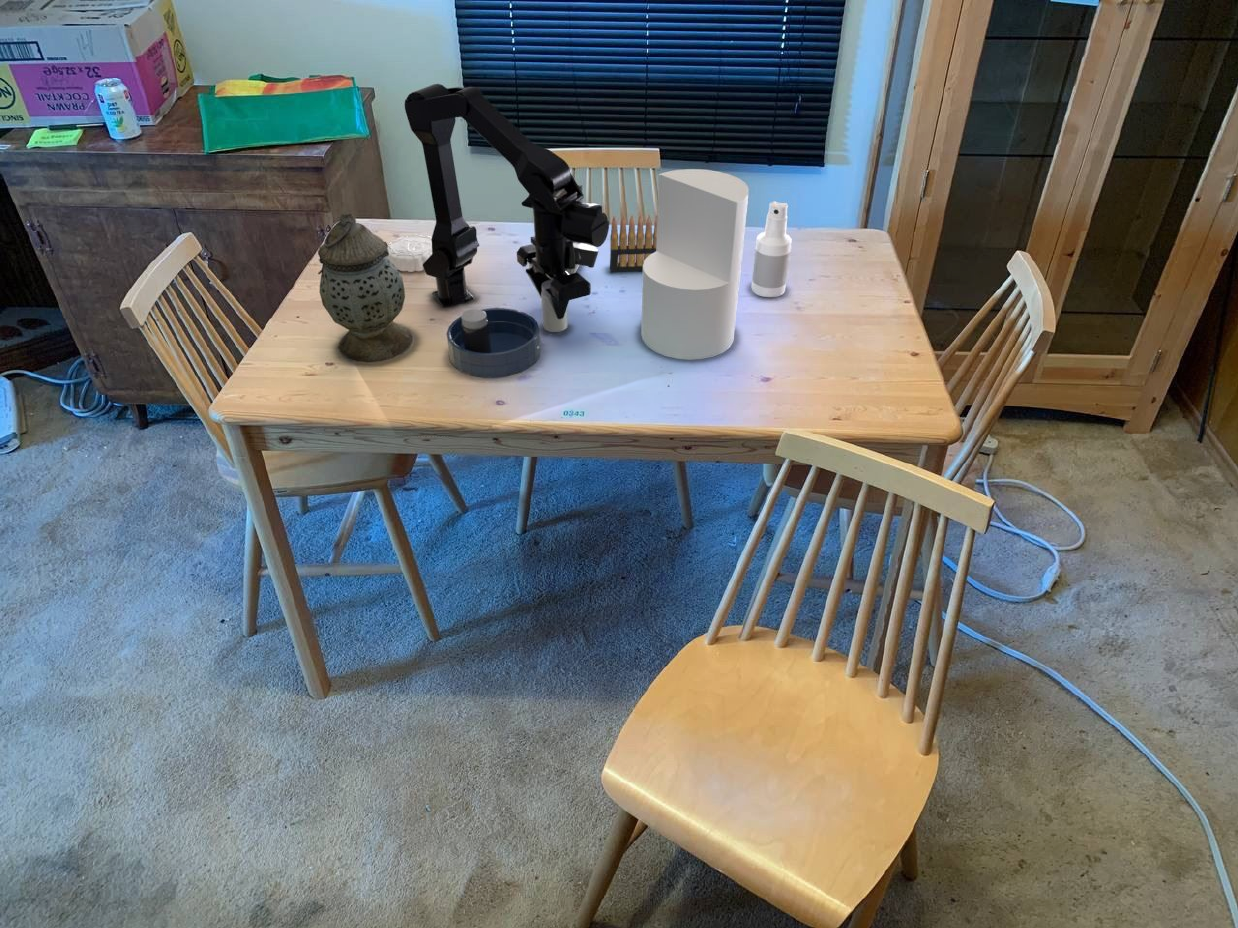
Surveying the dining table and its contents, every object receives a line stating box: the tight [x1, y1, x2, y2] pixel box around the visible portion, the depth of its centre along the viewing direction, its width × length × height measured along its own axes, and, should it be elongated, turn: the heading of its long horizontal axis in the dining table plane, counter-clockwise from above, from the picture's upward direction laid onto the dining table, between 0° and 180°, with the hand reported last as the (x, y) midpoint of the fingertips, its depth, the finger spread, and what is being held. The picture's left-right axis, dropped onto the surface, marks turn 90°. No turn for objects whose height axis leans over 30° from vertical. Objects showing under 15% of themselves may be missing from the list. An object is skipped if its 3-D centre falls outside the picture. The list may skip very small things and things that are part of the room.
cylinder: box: [640, 168, 750, 361], centre depth 149 cm, size 17×17×28 cm
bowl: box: [446, 307, 542, 378], centre depth 151 cm, size 16×16×5 cm
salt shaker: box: [540, 280, 568, 333], centre depth 157 cm, size 5×5×8 cm
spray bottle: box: [750, 200, 793, 298], centre depth 166 cm, size 7×7×18 cm
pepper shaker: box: [460, 308, 491, 353], centre depth 149 cm, size 5×5×8 cm
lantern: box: [317, 211, 415, 363], centre depth 147 cm, size 14×14×25 cm
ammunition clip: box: [609, 214, 657, 274], centre depth 175 cm, size 11×2×12 cm, turn 94°
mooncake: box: [386, 234, 432, 273], centre depth 181 cm, size 12×12×4 cm
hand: (554, 312), depth 158 cm, fingers closed on salt shaker, 4 cm apart
